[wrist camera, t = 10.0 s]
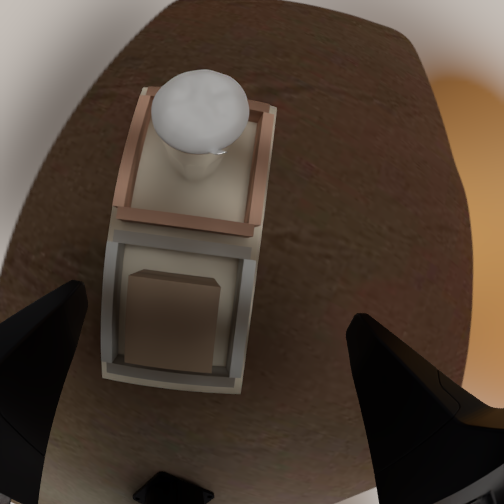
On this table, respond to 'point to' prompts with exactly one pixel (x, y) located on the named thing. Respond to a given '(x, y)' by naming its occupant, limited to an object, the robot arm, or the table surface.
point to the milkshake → (199, 120)
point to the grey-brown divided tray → (183, 260)
